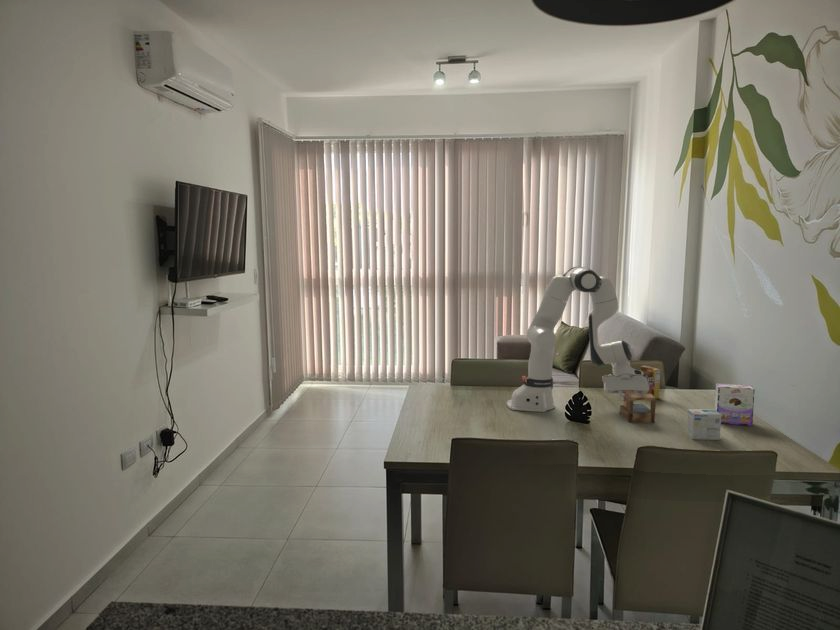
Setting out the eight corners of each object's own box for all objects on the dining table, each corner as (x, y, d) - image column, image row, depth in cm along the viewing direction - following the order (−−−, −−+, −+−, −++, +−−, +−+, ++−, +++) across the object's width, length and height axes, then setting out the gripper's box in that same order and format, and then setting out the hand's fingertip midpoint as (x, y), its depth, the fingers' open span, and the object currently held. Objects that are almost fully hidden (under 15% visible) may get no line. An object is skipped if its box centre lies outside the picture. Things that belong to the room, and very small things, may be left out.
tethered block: (633, 421, 236) (633, 401, 235) (620, 409, 252) (621, 390, 251) (647, 421, 236) (648, 401, 234) (633, 409, 252) (634, 390, 251)
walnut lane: (628, 422, 234) (629, 397, 232) (619, 413, 246) (620, 389, 244) (654, 422, 233) (655, 397, 232) (644, 413, 245) (645, 390, 244)
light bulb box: (713, 434, 219) (714, 408, 217) (720, 440, 212) (722, 414, 211) (685, 433, 220) (687, 408, 218) (692, 439, 213) (693, 413, 212)
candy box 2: (749, 422, 233) (751, 385, 231) (752, 426, 228) (755, 388, 226) (713, 418, 238) (715, 382, 236) (715, 423, 232) (718, 386, 230)
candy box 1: (638, 395, 275) (640, 366, 273) (644, 394, 277) (646, 365, 275) (653, 399, 268) (655, 369, 266) (659, 398, 270) (661, 368, 268)
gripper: (602, 371, 256) (608, 397, 247) (646, 371, 255) (653, 397, 246) (599, 378, 261) (604, 403, 252) (642, 378, 260) (649, 404, 251)
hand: (629, 400), depth 249 cm, fingers closed on tethered block, 3 cm apart
